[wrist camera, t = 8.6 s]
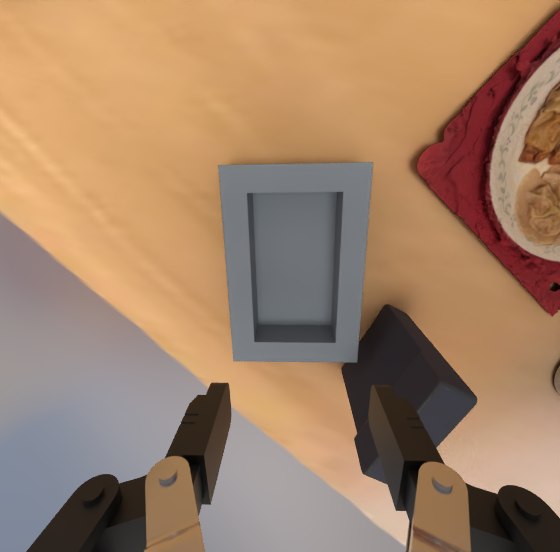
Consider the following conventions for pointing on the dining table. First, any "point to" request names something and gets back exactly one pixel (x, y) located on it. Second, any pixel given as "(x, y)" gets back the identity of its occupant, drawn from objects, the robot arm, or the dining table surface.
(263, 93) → the dining table surface
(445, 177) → the plate with food
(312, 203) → the tray
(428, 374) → the dark bevelled slab
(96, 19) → the dining table surface
